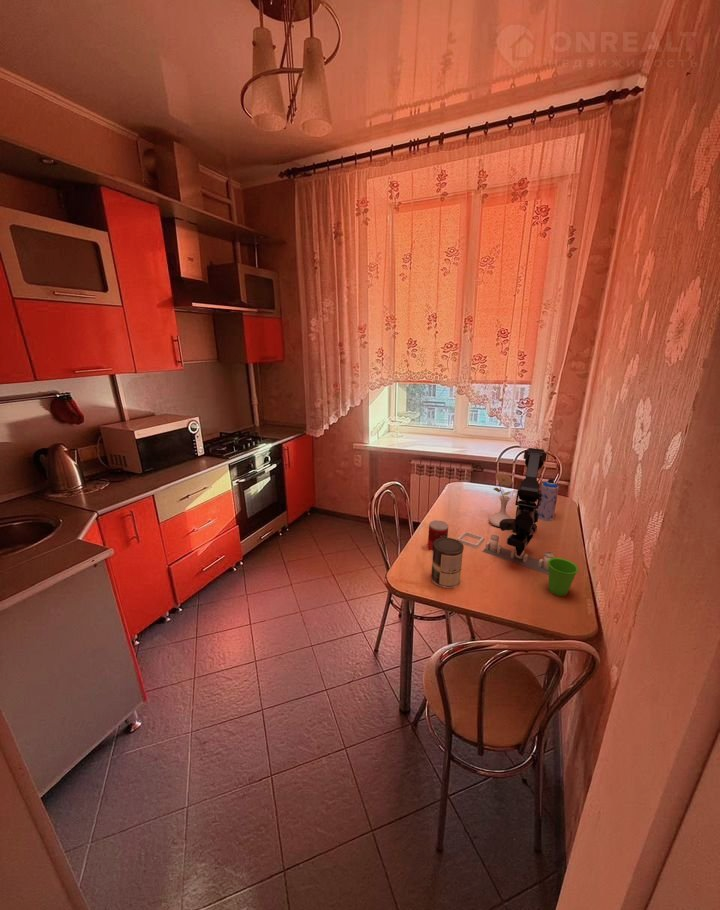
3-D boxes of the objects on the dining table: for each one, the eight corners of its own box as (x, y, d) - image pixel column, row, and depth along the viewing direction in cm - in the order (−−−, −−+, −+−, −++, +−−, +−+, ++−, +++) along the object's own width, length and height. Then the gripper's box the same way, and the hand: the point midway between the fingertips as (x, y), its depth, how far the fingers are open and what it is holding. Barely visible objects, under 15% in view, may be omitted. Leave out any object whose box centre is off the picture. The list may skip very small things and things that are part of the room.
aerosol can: (552, 522, 171) (559, 483, 166) (534, 518, 175) (541, 480, 170) (554, 516, 178) (561, 478, 172) (537, 512, 182) (543, 475, 176)
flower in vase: (519, 527, 166) (527, 477, 159) (500, 532, 162) (507, 480, 155) (499, 516, 178) (505, 468, 171) (480, 519, 174) (486, 471, 167)
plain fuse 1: (490, 547, 148) (492, 534, 146) (498, 549, 146) (500, 536, 144) (488, 550, 145) (489, 537, 144) (495, 552, 144) (497, 539, 142)
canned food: (432, 555, 144) (434, 530, 141) (424, 544, 151) (425, 521, 148) (450, 552, 146) (452, 528, 143) (440, 542, 153) (442, 519, 150)
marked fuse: (516, 553, 142) (518, 539, 140) (524, 556, 140) (526, 542, 138) (513, 556, 139) (515, 543, 137) (522, 559, 137) (524, 545, 136)
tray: (464, 535, 159) (465, 531, 158) (483, 542, 153) (484, 537, 153) (456, 543, 152) (456, 538, 151) (476, 550, 147) (476, 545, 146)
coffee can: (425, 580, 128) (427, 545, 124) (439, 567, 135) (441, 534, 131) (452, 592, 122) (455, 556, 117) (465, 578, 129) (468, 543, 125)
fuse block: (489, 545, 151) (489, 538, 150) (557, 568, 135) (559, 560, 134) (482, 553, 145) (482, 546, 144) (552, 578, 129) (554, 570, 128)
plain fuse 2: (543, 564, 136) (545, 550, 134) (552, 567, 134) (554, 553, 132) (541, 568, 134) (543, 554, 132) (550, 571, 132) (553, 557, 130)
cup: (562, 584, 126) (568, 557, 123) (578, 602, 117) (584, 573, 114) (537, 585, 126) (542, 557, 123) (551, 602, 117) (557, 573, 114)
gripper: (510, 503, 146) (505, 537, 151) (495, 519, 132) (490, 556, 137) (540, 511, 140) (534, 546, 144) (527, 528, 126) (521, 567, 130)
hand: (519, 553), depth 139 cm, fingers closed on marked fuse, 3 cm apart
